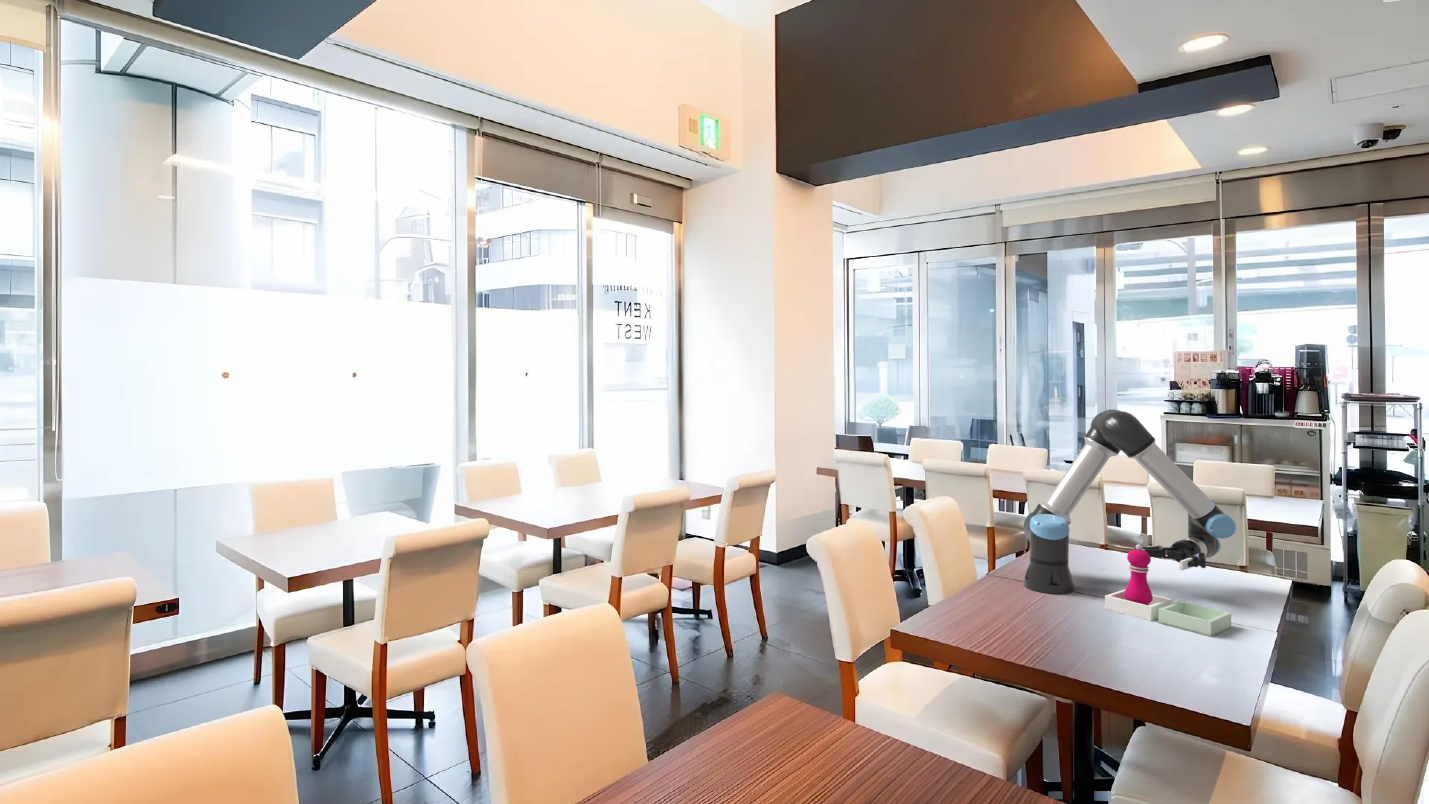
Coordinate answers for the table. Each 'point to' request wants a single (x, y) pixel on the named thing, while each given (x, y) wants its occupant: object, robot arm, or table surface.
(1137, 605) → the bin
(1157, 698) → the table surface
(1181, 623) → the tray
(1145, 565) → the pepper mill
